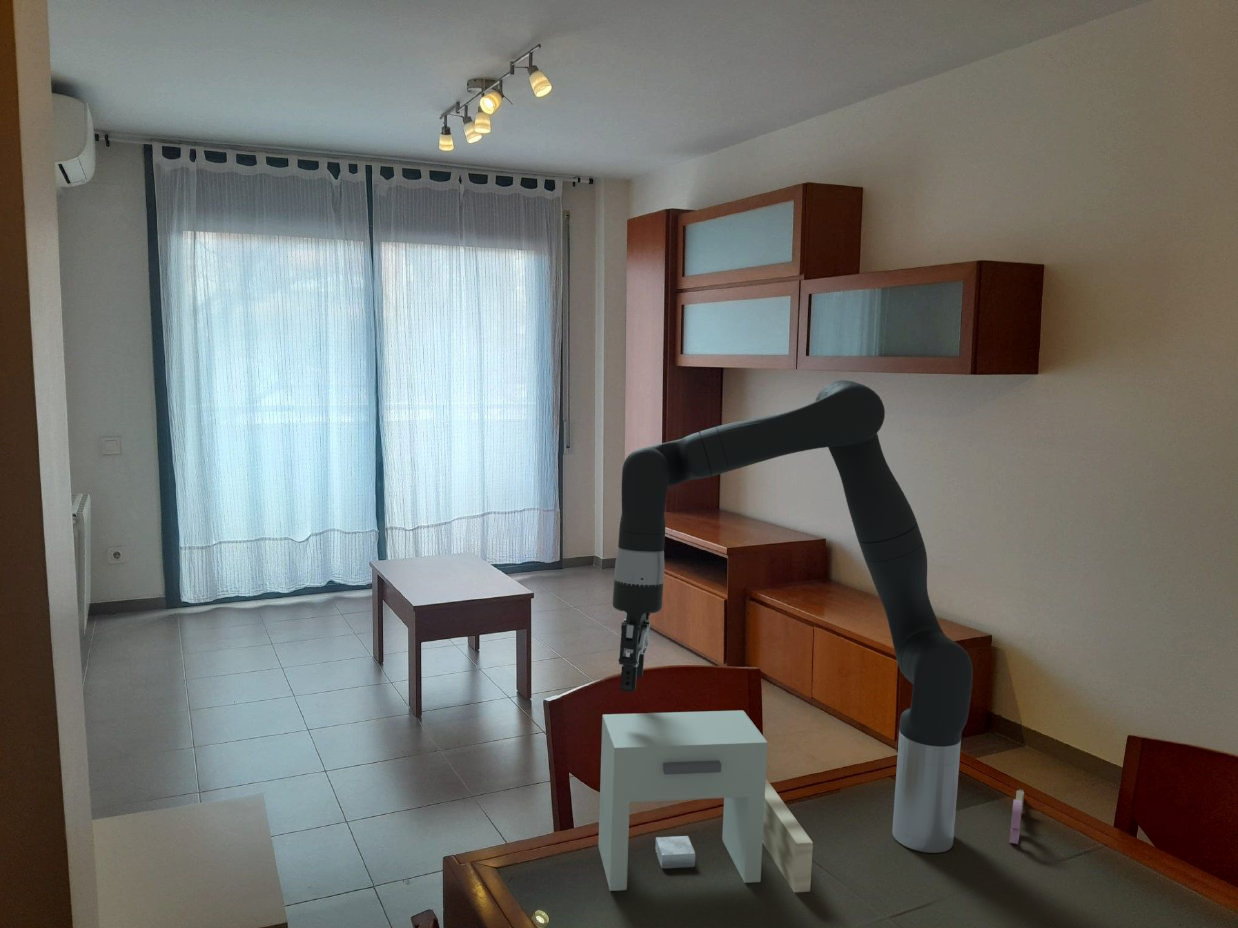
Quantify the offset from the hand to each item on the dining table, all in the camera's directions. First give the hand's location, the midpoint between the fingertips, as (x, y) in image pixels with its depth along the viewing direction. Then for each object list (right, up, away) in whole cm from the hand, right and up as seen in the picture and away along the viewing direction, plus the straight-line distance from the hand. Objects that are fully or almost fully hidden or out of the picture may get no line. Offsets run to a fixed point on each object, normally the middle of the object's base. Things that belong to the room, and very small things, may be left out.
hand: (631, 683), depth 140 cm
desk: (+7, -26, -3) cm, 27 cm away
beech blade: (+22, -26, +1) cm, 34 cm away
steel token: (+6, -26, -2) cm, 27 cm away
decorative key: (+64, -26, +13) cm, 71 cm away
